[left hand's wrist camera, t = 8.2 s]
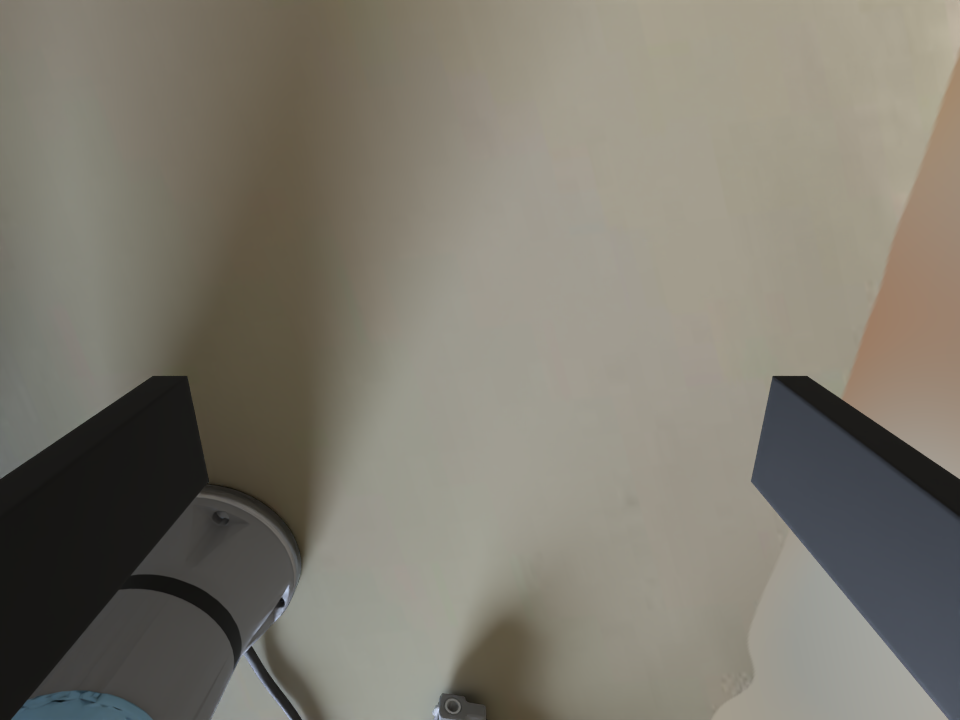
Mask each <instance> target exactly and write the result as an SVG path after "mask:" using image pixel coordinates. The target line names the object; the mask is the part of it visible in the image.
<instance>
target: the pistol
mask: <svg viewBox="0 0 960 720" xmlns="http://www.w3.org/2000/svg"><path fill="white" fill-rule="evenodd" d="M433 715H435V718H434V720H487V719H486V707H485V705H482V704H475V703H469V702H467V701H466V699H465V697H464V696H457V695H451V694H444V693H443V694H442V695H441V696H440V699H439V703H438V705H436V706H435V708H434V710H433Z"/></svg>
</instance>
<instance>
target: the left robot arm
mask: <svg viewBox="0 0 960 720" xmlns="http://www.w3.org/2000/svg"><path fill="white" fill-rule="evenodd" d="M208 482H209V479H208V474H207V470H206V465H205V460H204V455H203V450H202V445H201V441H200V436H199V431H198V426H197V421H196V416H195V412H194V407H193V402H192V397H191V392H190V387H189V383H188V378H187V376H152V377H151V378H149V379H148V380H146V381H145V382H143V383H142V384H140V385H139V386H138V387H136V388H135V389H133V390H132V391H130V392H129V393H127V394H126V395H124V396H123V397H121V398H120V399H118V400H117V401H115V402H114V403H112V404H111V405H109V406H108V407H106V408H105V409H104V410H102V411H101V412H99V413H98V414H96V415H95V416H93V417H92V418H90V419H89V420H87V421H86V422H84V423H83V424H81V425H80V426H78V427H77V428H75V429H74V430H72V431H71V432H70V433H68V434H67V435H65V436H64V437H62V438H61V439H59V440H58V441H56V442H55V443H53V444H52V445H50V446H49V447H47V448H46V449H44V450H43V451H41V452H40V453H38V454H37V455H36V456H34V457H33V458H31V459H30V460H28V461H27V462H25V463H24V464H22V465H21V466H19V467H18V468H16V469H15V470H13V471H12V472H10V473H9V474H7V475H6V476H4V477H3V478H2V479H0V720H11V719H12V718H13V717H14V716H15V714H16V713H17V712H18V711H19V710H20V708H21V707H22V706H23V705H24V703H25V702H26V701H27V700H28V699H29V697H30V696H31V695H32V694H33V693H34V691H35V690H36V689H37V688H38V687H39V685H40V684H41V683H42V682H43V681H44V679H45V678H46V677H47V676H48V675H49V673H50V672H51V671H52V670H53V669H54V667H55V666H56V665H57V664H58V663H59V661H60V660H61V659H62V658H63V657H64V655H65V654H66V653H67V652H68V651H69V649H70V648H71V647H72V646H73V644H74V643H75V642H76V641H77V640H78V638H79V637H80V636H81V635H82V634H83V632H84V631H85V630H86V629H87V628H88V626H89V625H90V624H91V623H92V622H93V620H94V619H95V618H96V617H97V616H98V614H99V613H100V612H101V611H102V610H103V608H104V607H105V606H106V605H107V604H108V602H109V601H110V600H111V599H112V598H113V596H114V595H115V594H116V593H117V591H118V590H119V589H120V588H121V587H122V585H123V584H124V583H125V582H126V581H127V579H128V578H129V577H130V576H131V575H132V573H133V572H134V571H135V570H136V569H137V567H138V566H139V565H140V564H141V563H142V561H143V560H144V559H145V558H146V557H147V555H148V554H149V553H150V552H151V551H152V549H153V548H154V547H155V546H156V545H157V543H158V542H159V541H160V540H161V538H162V537H163V536H164V535H165V534H166V532H167V531H168V530H169V529H170V528H171V526H172V525H173V524H174V523H175V522H176V520H177V519H178V518H179V517H180V516H181V514H182V513H183V512H184V511H185V510H186V508H187V507H188V506H189V505H190V504H191V502H192V501H193V500H194V499H195V498H196V496H197V495H198V494H199V493H200V492H201V490H202V489H203V488H204V487H205V485H206V484H207V483H208ZM751 482H752V483H753V484H754V485H755V487H756V488H757V489H758V490H759V492H760V493H761V494H762V495H763V496H764V498H765V499H766V500H767V501H768V502H769V504H770V505H771V506H772V507H773V508H774V510H775V511H776V512H777V513H778V514H779V516H780V517H781V518H782V519H783V520H784V522H785V523H786V524H787V525H788V526H789V528H790V529H791V530H792V531H793V532H794V534H795V535H796V536H797V537H798V538H799V540H800V541H801V542H802V543H803V544H804V546H805V547H806V548H807V549H808V551H809V552H810V553H811V554H812V555H813V557H814V558H815V559H816V560H817V561H818V563H819V564H820V565H821V566H822V567H823V569H824V570H825V571H826V572H827V573H828V575H829V576H830V577H831V578H832V579H833V581H834V582H835V583H836V584H837V585H838V587H839V588H840V589H841V590H842V591H843V593H844V594H845V595H846V596H847V598H848V599H849V600H850V601H851V602H852V604H853V605H854V606H855V607H856V608H857V610H858V611H859V612H860V613H861V614H862V616H863V617H864V618H865V619H866V620H867V622H868V623H869V624H870V625H871V626H872V628H873V629H874V630H875V631H876V632H877V634H878V635H879V636H880V637H881V638H882V640H883V641H884V642H885V643H886V644H887V646H888V647H889V648H890V649H891V650H892V652H893V653H894V654H895V655H896V657H897V658H898V659H899V660H900V661H901V663H902V664H903V665H904V666H905V667H906V669H907V670H908V671H909V672H910V673H911V675H912V676H913V677H914V678H915V679H916V681H917V682H918V683H919V684H920V685H921V687H922V688H923V689H924V690H925V691H926V693H927V694H928V695H929V696H930V697H931V699H932V700H933V701H934V702H935V704H936V705H937V706H938V707H939V708H940V709H941V711H942V712H943V713H944V714H945V716H946V717H947V718H948V719H949V720H960V479H958V478H957V477H956V476H954V475H953V474H951V473H950V472H948V471H947V470H945V469H944V468H942V467H941V466H939V465H938V464H936V463H935V462H933V461H932V460H930V459H929V458H927V457H926V456H924V455H923V454H922V453H920V452H919V451H917V450H916V449H914V448H913V447H911V446H910V445H908V444H907V443H905V442H904V441H902V440H901V439H899V438H898V437H896V436H895V435H893V434H892V433H890V432H889V431H888V430H886V429H885V428H883V427H882V426H880V425H879V424H877V423H876V422H874V421H873V420H871V419H870V418H868V417H867V416H865V415H864V414H862V413H861V412H859V411H858V410H856V409H855V408H854V407H852V406H850V405H849V404H848V403H846V402H845V401H843V400H842V399H840V398H839V397H837V396H836V395H834V394H833V393H831V392H830V391H828V390H827V389H825V388H824V387H822V386H821V385H820V384H818V383H817V382H815V381H814V380H812V379H811V378H809V377H808V376H773V378H772V382H771V387H770V392H769V397H768V402H767V407H766V412H765V416H764V421H763V426H762V431H761V436H760V441H759V445H758V450H757V455H756V460H755V465H754V470H753V474H752V479H751Z"/></svg>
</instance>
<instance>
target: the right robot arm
mask: <svg viewBox="0 0 960 720" xmlns="http://www.w3.org/2000/svg"><path fill="white" fill-rule="evenodd" d="M300 574H301V557H300V552H299V548H298V545H297V543H296V540H295V538H294V536H293V534H292V533H291V531H290V530H289V528H288V527H287V525H286V524H285V523H284V522H283V520H282V519H281V518H280V517H279V516H278V515H277V514H276V513H275V512H273V511H272V510H271V509H270V508H269V507H267V506H266V505H264V504H263V503H261V502H260V501H258V500H256V499H255V498H253V497H251V496H249V495H247V494H244V493H242V492H239V491H237V490H234V489H230V488H227V487H222V486H217V485H209V484H206V485H205V487H204V488H203V489H202V490H201V492H200V493H199V494H198V495H197V496H196V498H195V499H194V500H193V501H192V502H191V504H190V505H189V506H188V507H187V508H186V510H185V511H184V512H183V513H182V514H181V516H180V517H179V518H178V519H177V520H176V522H175V523H174V524H173V525H172V526H171V528H170V529H169V530H168V531H167V532H166V534H165V535H164V536H163V537H162V538H161V540H160V541H159V542H158V543H157V545H156V546H155V547H154V548H153V549H152V551H151V552H150V553H149V554H148V555H147V557H146V558H145V559H144V560H143V561H142V563H141V564H140V565H139V566H138V567H137V569H136V570H135V571H134V572H133V573H132V575H131V576H130V577H129V578H128V579H127V581H126V582H125V583H124V584H123V585H122V587H121V588H120V589H119V590H118V591H117V593H116V594H115V595H114V596H113V598H112V599H111V600H110V601H109V602H108V604H107V605H106V606H105V607H104V608H103V610H102V611H101V612H100V613H99V614H98V616H97V617H96V618H95V619H94V620H93V622H92V623H91V624H90V625H89V626H88V628H87V629H86V630H85V631H84V632H83V634H82V635H81V636H80V637H79V638H78V640H77V641H76V642H75V643H74V644H73V646H72V647H71V648H70V649H69V651H68V652H67V653H66V654H65V655H64V657H63V658H62V659H61V660H60V661H59V663H58V664H57V665H56V666H55V667H54V669H53V670H52V671H51V672H50V673H49V675H48V676H47V677H46V678H45V679H44V681H43V682H42V683H41V684H40V685H39V687H38V688H37V689H36V690H35V691H34V693H33V694H32V695H31V696H30V697H29V699H28V700H27V701H26V702H25V703H24V705H23V706H22V707H21V708H20V710H19V711H18V712H17V713H16V714H15V716H14V717H13V718H12V719H11V720H211V718H212V716H213V714H214V712H215V710H216V708H217V706H218V704H219V701H220V699H221V697H222V695H223V693H224V691H225V689H226V687H227V685H228V682H229V680H230V678H231V676H232V674H233V672H234V669H235V667H236V665H237V663H238V661H239V659H240V657H241V656H242V655H243V654H244V655H245V657H246V659H247V660H248V662H249V664H250V665H251V667H252V669H253V670H254V672H255V673H256V675H257V676H258V678H259V679H260V681H261V682H262V683H263V685H264V686H265V687H266V689H267V690H268V691H269V693H270V694H271V695H272V697H273V698H274V699H275V700H276V702H277V703H278V704H279V705H280V707H281V708H282V709H283V711H284V712H285V713H286V715H287V716H288V718H289V719H290V720H302V719H301V717H300V716H299V714H298V713H297V711H296V710H295V708H294V707H293V706H292V704H291V703H290V702H289V700H288V699H287V698H286V696H285V695H284V694H283V692H282V691H281V690H280V689H279V687H278V686H277V685H276V683H275V682H274V681H273V679H272V678H271V676H270V675H269V674H268V672H267V671H266V669H265V667H264V666H263V664H262V663H261V661H260V659H259V658H258V656H257V654H256V652H255V651H254V649H253V647H252V645H253V644H254V643H255V642H256V641H257V640H258V639H259V638H260V637H261V636H262V635H263V634H264V632H265V631H266V630H267V629H268V628H269V627H270V626H271V625H272V624H273V623H274V622H275V621H276V620H277V619H278V618H279V617H280V616H281V615H282V613H283V612H284V611H285V610H286V608H287V607H288V605H289V603H290V601H291V599H292V597H293V594H294V592H295V589H296V587H297V585H298V582H299V579H300Z"/></svg>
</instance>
